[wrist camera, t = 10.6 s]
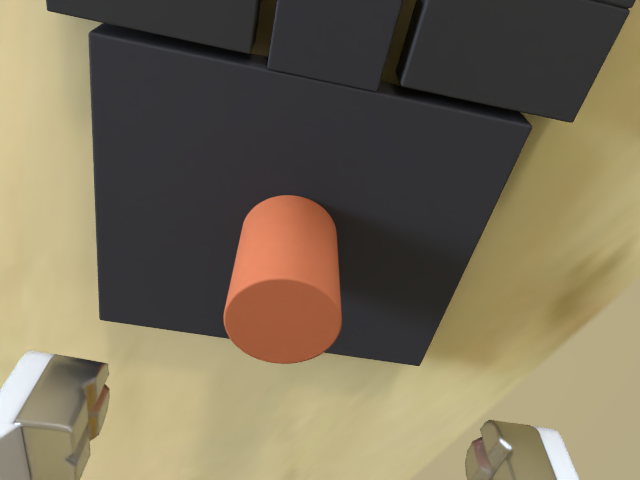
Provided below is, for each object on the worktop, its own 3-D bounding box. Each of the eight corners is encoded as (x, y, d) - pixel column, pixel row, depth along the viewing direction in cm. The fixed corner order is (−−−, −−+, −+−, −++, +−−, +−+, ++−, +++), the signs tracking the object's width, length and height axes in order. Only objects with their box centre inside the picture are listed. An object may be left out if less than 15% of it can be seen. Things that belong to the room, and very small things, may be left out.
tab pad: (558, 22, 14) (666, 85, 10) (414, 344, 21) (440, 462, 17) (101, -87, 12) (-12, -72, 8) (109, 298, 19) (51, 416, 15)
